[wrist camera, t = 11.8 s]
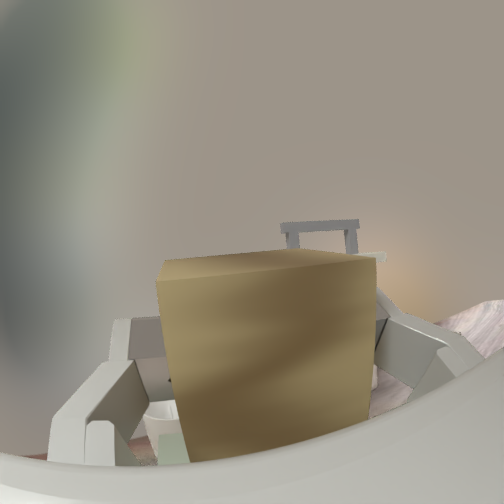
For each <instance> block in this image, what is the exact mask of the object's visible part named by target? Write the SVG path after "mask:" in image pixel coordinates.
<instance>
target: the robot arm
mask: <svg viewBox="0 0 504 504" xmlns="http://www.w3.org/2000/svg"><path fill="white" fill-rule="evenodd" d="M374 364H375V365H377V366H378V367H380V368H381V369H383V370H384V371H386V372H388V373H389V374H391V375H392V376H394V377H395V378H397V379H399V380H400V381H402V382H403V383H405V384H407V385H408V386H410V387H411V388H413V389H414V390H413V391H412V393H411V394H410V396H409V397H408V400H407V403H405V404H403V405H401V406H399V407H397V408H394V409H392V410H390V411H387V412H385V413H383V414H380V415H378V416H375V417H373V418H370V419H368V420H365V421H363V422H360V423H357V424H355V425H352V426H349V427H346V428H343V429H341V430H338V431H335V432H332V433H329V434H325V435H322V436H319V437H316V438H312V439H309V440H305V441H302V442H298V443H294V444H291V445H287V446H283V447H279V448H275V449H270V450H266V451H261V452H256V453H251V454H246V455H241V456H235V457H229V458H223V459H216V460H209V461H201V462H192V463H182V464H170V465H153V466H141V464H140V463H139V461H138V460H137V459H136V457H135V456H134V454H133V453H132V451H131V450H130V449H129V447H128V446H127V443H128V442H129V440H130V438H131V436H132V435H133V433H134V431H135V429H136V428H137V426H138V424H139V422H140V420H141V419H142V417H143V415H144V414H145V412H146V410H147V408H148V407H149V405H150V403H149V402H159V401H168V400H175V398H174V393H173V388H172V383H171V378H170V373H169V368H168V362H167V357H166V351H165V345H164V339H163V332H162V326H161V319H160V316H158V317H142V318H132V319H131V318H128V319H116V320H115V321H114V323H113V329H112V336H111V343H110V351H109V359H108V362H103V363H102V364H101V365H100V366H99V367H98V368H97V369H96V370H95V371H94V372H93V373H92V375H91V376H90V377H89V378H88V379H87V380H86V381H85V382H84V383H83V384H82V385H81V387H80V388H79V389H78V390H77V391H76V392H75V393H74V394H73V395H72V396H71V397H70V399H69V400H68V401H67V402H66V403H65V404H64V405H63V406H62V408H61V409H60V410H59V411H58V412H57V413H56V414H55V415H54V417H53V419H52V425H51V432H50V440H49V448H48V457H47V461H45V460H38V459H32V458H26V457H21V456H16V455H11V454H6V453H2V452H0V504H504V347H503V348H501V349H500V350H498V351H497V352H496V353H494V354H493V355H491V356H490V357H488V358H487V359H485V358H484V357H483V356H482V355H481V354H480V353H479V352H478V351H477V350H476V349H475V348H474V347H473V346H472V344H471V343H470V342H469V341H468V340H467V339H466V338H465V337H464V336H461V335H459V334H456V333H454V332H452V331H449V330H447V329H444V328H442V327H440V326H437V325H435V324H432V323H430V322H427V321H425V320H423V319H420V318H418V317H416V316H413V315H411V314H408V313H405V314H403V312H401V310H399V308H398V307H397V306H396V305H395V304H394V303H393V302H392V301H391V300H390V299H389V298H388V297H387V296H386V295H385V294H384V293H383V292H382V291H381V290H380V289H379V288H378V287H376V332H375V351H374Z"/></svg>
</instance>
